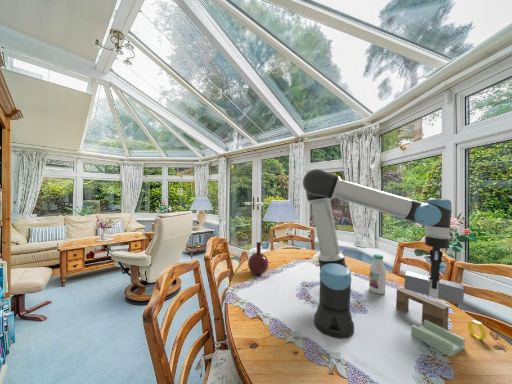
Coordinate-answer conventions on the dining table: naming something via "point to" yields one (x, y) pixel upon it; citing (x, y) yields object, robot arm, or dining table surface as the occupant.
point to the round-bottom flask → (258, 261)
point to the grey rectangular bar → (446, 288)
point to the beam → (424, 307)
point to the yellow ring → (479, 327)
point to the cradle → (439, 338)
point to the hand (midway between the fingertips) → (433, 293)
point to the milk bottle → (377, 275)
